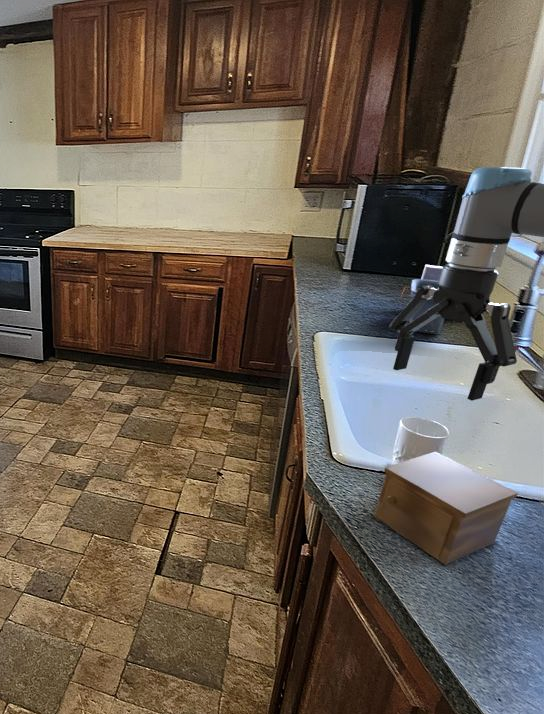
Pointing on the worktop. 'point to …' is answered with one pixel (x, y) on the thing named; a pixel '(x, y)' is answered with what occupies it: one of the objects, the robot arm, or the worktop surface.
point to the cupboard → (442, 506)
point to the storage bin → (425, 306)
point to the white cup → (418, 439)
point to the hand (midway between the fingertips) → (434, 382)
